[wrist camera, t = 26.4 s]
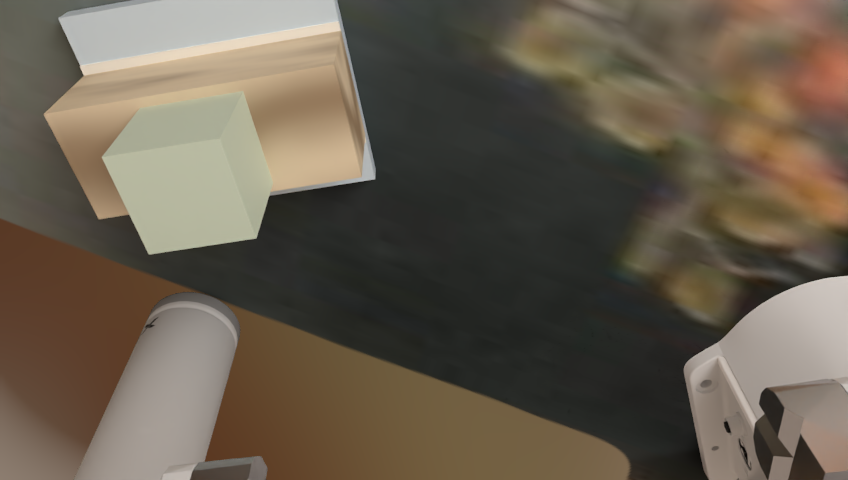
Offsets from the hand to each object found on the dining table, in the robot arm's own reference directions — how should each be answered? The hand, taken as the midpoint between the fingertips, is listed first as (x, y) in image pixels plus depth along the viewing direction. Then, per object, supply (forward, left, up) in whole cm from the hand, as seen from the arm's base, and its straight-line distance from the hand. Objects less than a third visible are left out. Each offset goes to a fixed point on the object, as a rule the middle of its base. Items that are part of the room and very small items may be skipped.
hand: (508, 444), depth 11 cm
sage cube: (-4, +12, -23) cm, 26 cm away
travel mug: (-20, +20, -29) cm, 41 cm away
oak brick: (-4, +12, -28) cm, 31 cm away
